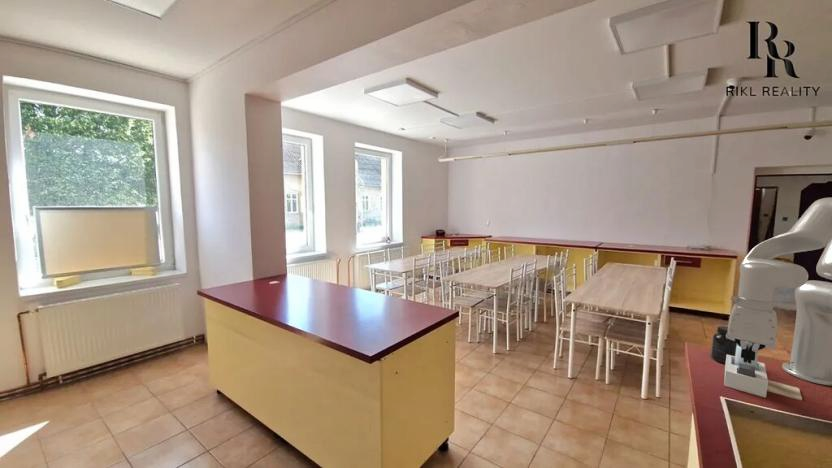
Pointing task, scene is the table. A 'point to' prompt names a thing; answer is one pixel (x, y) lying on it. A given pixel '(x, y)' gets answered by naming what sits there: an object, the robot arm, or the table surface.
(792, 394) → the oak pad
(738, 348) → the cylinder
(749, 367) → the plunger
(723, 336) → the supplement bottle
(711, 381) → the table surface
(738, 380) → the box
